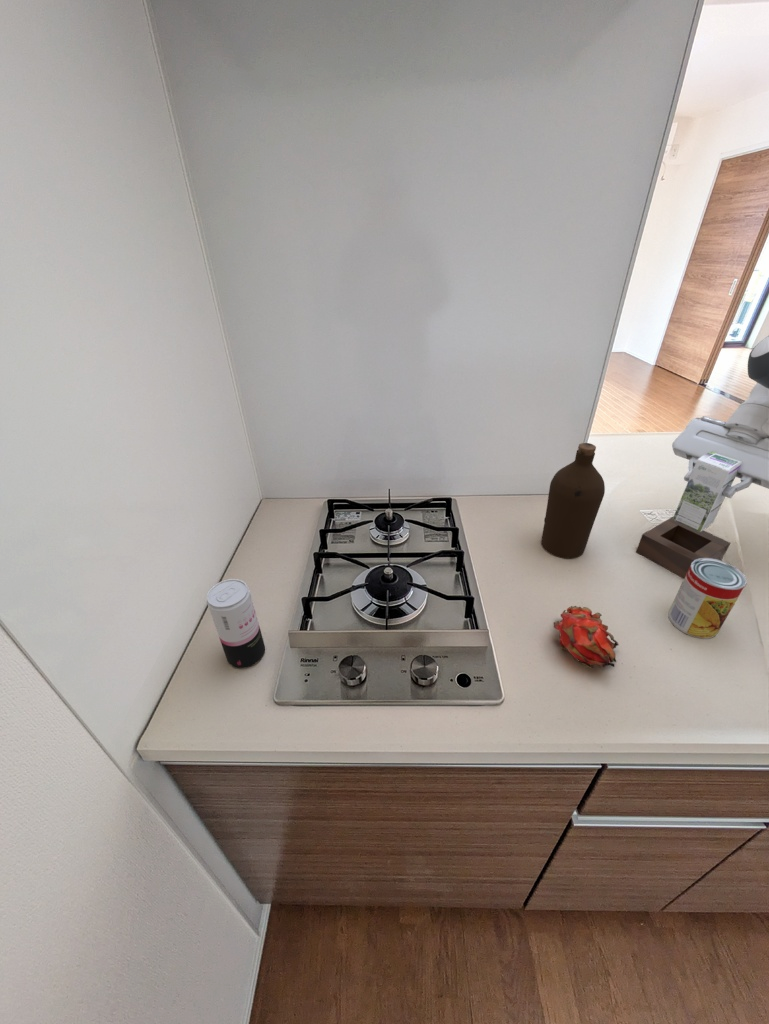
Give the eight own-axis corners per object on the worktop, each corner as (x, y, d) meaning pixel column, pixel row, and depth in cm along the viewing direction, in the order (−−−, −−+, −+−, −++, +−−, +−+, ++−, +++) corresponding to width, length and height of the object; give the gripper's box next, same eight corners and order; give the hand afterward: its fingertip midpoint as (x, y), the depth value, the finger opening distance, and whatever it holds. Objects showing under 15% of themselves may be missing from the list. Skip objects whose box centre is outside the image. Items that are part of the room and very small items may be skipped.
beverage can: (219, 659, 76) (196, 597, 68) (247, 634, 80) (229, 573, 72) (246, 676, 73) (225, 613, 65) (273, 648, 78) (257, 586, 69)
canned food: (728, 632, 78) (758, 582, 71) (693, 643, 76) (721, 593, 69) (691, 602, 84) (715, 553, 77) (658, 611, 82) (680, 563, 76)
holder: (665, 533, 102) (673, 516, 100) (721, 561, 94) (730, 542, 91) (635, 552, 97) (642, 534, 94) (691, 582, 89) (700, 563, 86)
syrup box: (713, 523, 90) (744, 460, 82) (699, 533, 87) (730, 469, 79) (685, 511, 94) (711, 449, 86) (670, 520, 91) (696, 458, 83)
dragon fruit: (558, 627, 82) (600, 685, 73) (533, 621, 77) (576, 683, 68) (593, 598, 78) (641, 656, 70) (569, 590, 73) (618, 651, 65)
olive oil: (597, 557, 96) (629, 454, 82) (551, 563, 95) (576, 460, 81) (571, 529, 105) (596, 432, 91) (530, 535, 103) (549, 437, 89)
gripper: (694, 406, 89) (652, 461, 91) (818, 439, 75) (765, 505, 76) (697, 421, 94) (657, 474, 95) (815, 456, 79) (765, 517, 81)
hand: (706, 488), depth 85 cm, fingers closed on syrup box, 6 cm apart
